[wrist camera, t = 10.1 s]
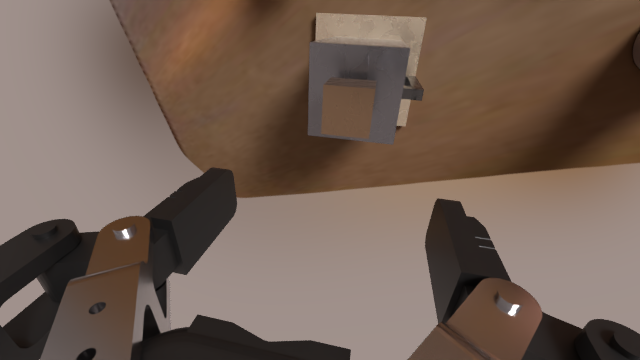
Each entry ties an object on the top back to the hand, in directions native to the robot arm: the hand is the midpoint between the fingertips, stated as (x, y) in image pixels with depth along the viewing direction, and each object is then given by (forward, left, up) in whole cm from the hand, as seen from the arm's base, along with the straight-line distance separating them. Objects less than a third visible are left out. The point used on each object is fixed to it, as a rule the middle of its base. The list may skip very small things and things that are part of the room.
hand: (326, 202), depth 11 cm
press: (+1, +1, -41) cm, 41 cm away
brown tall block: (+1, +1, -37) cm, 37 cm away
